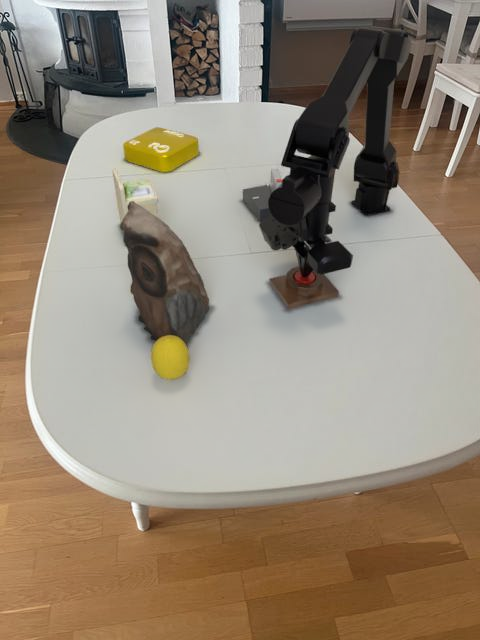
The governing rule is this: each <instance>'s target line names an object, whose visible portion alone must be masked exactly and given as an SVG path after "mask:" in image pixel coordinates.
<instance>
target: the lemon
mask: <svg viewBox="0 0 480 640" xmlns="http://www.w3.org/2000/svg"><path fill="white" fill-rule="evenodd" d="M190 359H191V358H190V352H189V348H188V346H187V343H186V344H185V343H184V341H183V340H182V339H180V338H179V337H177V336H174V335H166V336H163V337H161V338H159V339H158V340H157V341H155V342H154V343H153V346H152V348H151V354H150V360H151V365H152V368H153V370H154V372H155V373H156V374H157V375H158V376H159V377H161V378H162V379H165V380H167V381H168V380H170V381H171V380H177V379H179V378H181V377H182V376H184V375H185V373H186V372H187V370H188V368H189V365H190Z"/></svg>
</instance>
